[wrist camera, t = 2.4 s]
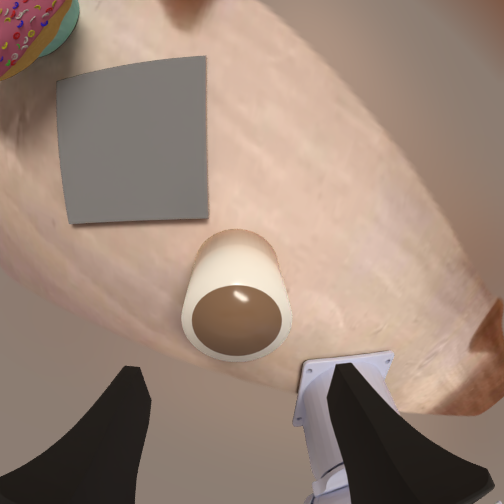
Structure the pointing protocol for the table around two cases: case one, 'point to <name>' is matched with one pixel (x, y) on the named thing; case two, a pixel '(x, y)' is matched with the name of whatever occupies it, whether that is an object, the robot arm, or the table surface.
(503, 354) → the table surface
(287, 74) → the table surface
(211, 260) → the cup
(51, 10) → the cupcake
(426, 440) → the robot arm
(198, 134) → the coaster
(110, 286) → the table surface
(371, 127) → the table surface
